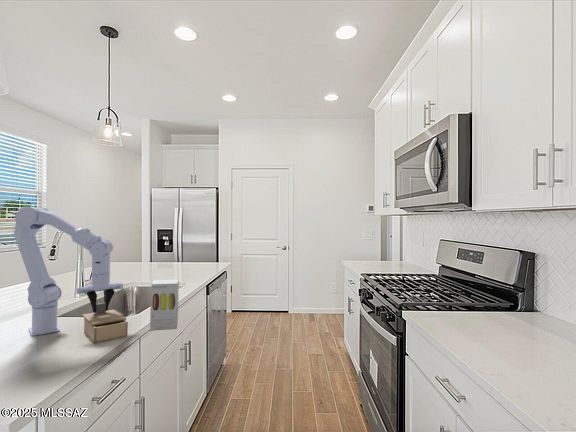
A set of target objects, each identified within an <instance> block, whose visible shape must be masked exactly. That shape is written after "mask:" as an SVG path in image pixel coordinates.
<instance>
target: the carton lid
mask: <svg viewBox="0 0 576 432" xmlns="http://www.w3.org/2000/svg"><path fill="white" fill-rule="evenodd" d="M81 317H82V318H83V319H86V320H87V321H88V322H89V323H90V324H91V325H92V326H93V325H99V324H104V323H110V322H115V321H121V320H126V321H127V317H125V316H124V315H123V314H122V313H120V312H118V311H116V309H109V310H108V311H106V303H104V301H103V302H98V303H97V302H96V313H94V312H90V313H84V314H81Z"/></svg>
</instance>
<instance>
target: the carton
mask: <svg viewBox="0 0 576 432" xmlns="http://www.w3.org/2000/svg"><path fill="white" fill-rule="evenodd" d="M83 319H84V323H83V334H84V335H85V336H86V337H87V338H88V339H89V340H90V341H91V342H92V343H93V344H94V345H95V344H100V343H104V342H109V341H114V340H118V339H119V340H120V339H123V338H128V330H129V329H128V328H129V327H128V326H129V322H128V321H127V319H126V320H121V321H115V322H110V323H104V324H99V325H93V326H92V325H91V324H90V323H89V322H88V321H87V320H86V319H85V318H83Z"/></svg>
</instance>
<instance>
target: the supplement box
mask: <svg viewBox="0 0 576 432" xmlns="http://www.w3.org/2000/svg"><path fill="white" fill-rule="evenodd" d="M179 282H180V281H179V279H178V278H177V279H154V280H153V281H152V283H151V286H150V287H151V291H150V293H151V294H150V312H149V313H150V318H149V319H150V320H149V331H150V332H152V331H164V330H165V331H167V330H177V329H178V322H179V321H178V320H179Z"/></svg>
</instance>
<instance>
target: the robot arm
mask: <svg viewBox="0 0 576 432" xmlns="http://www.w3.org/2000/svg"><path fill="white" fill-rule="evenodd" d="M13 217H14V220H15V225H14V233H13V235H14V239H15V241H16V244H17V247H18V250H19V252H20V255H21V258H22V261H23V263H24V266H25V267H24V268H25V270H26V273H27V275H28V279H29V281H30V283H29V285H28V286H27V293H28V294H27V295H28V296H27V302H28V304H29V305H30V306H31V309H32V310H31V313H32V314H31V327H29V328H28V331H29V333H30V336H31V337H34V336H39V335H44V334H51V333H56V332H60V328H59V327H58V300H60V298H61V297H62V289H61V288H60V286H59V285H57V283H56V280H55V279H54V278H52V277H51V276H50V275H49V272H48V269H47V267H46V264H45V261H44V258H43V255H42V252H41V249H40V246H39V243H38V241H37V237H36V234H37V233H38V232H39V230H40V229H42V228H43V227H44V226H46V225H48V226H49V225H50V226H52V227H54V228H55V229H58V230H59V231H61V232H63V233H65V234H67V235H68V236H70V238H71V240H72V242H73V243H75V244H77V245H78V246H80V247H82V248H84V249H85V250H87V251H88V252H89V254H90V255H91V260H92V261H91V285H87V286H81V287H80V286H79V287H76V294H77V295H81V294H86V296H87V298H88V300H89V302H90V305H91V309H92V310H91V311H92V313H96V303H97V299H98V298H97V297H98V294H97V292H103V298H104V299H103V302H104V303H106V311H108V309H109V306H110V302H111V300H112V298H113V296H114V295H115V290H123V288H124V283H122V282H118V283H117V282H115V283H110V281H111V280H110V279H111V277H110V275H111V253H112V252H113V247H114V246H113V244H112V242H111V241H110V240H109V239H106V238H105V239H103V237H102V236H100V235H99V236H98V235H96V234H94V233H93V232H91V229H90V228H87V227H86V228H85V227H80V228H77V227H76V226H75V225H74V224H72V223H70V222H69V221H67V220H65V219H64V218H62V217H61V216H60V215H58V213H55V212H54V211H52V210H49V209H48V208H46V207H32V206H23V207H21V208H19V209H18V211H17V212H16V213H15V215H14V216H13Z"/></svg>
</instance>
